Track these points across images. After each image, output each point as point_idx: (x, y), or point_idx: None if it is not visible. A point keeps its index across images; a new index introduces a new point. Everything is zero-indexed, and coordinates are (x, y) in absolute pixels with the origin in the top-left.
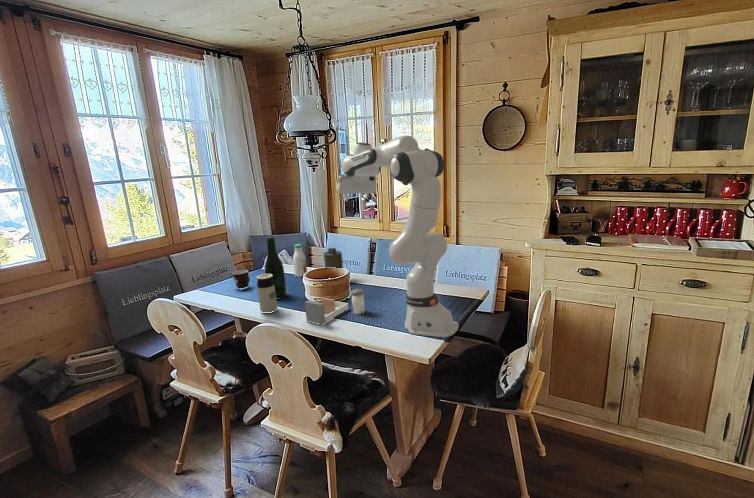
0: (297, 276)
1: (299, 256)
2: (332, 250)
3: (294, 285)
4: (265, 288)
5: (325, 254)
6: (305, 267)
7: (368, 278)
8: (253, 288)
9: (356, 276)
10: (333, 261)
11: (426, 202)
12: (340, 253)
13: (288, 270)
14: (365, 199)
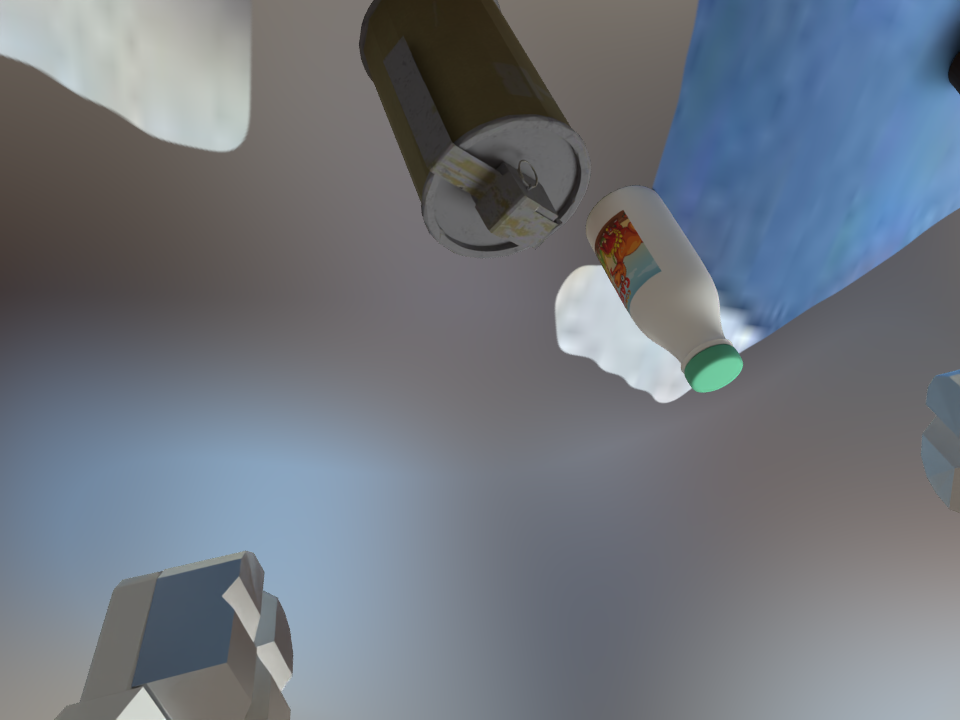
0: (653, 190)
1: (689, 289)
2: (522, 188)
3: (717, 26)
4: None
5: (580, 155)
6: (618, 242)
7: (131, 41)
8: (939, 39)
9: (245, 119)
10: (498, 81)
11: None
12: (441, 152)
13: None
14: (101, 633)
